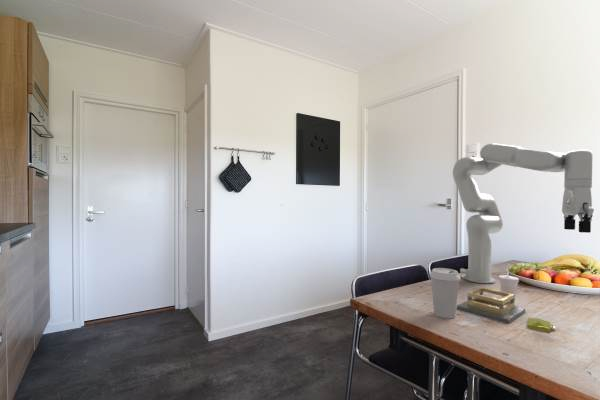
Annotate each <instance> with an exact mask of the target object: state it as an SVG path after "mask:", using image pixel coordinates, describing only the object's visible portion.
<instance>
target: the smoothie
mask: <svg viewBox="0 0 600 400" xmlns="http://www.w3.org/2000/svg"><path fill="white" fill-rule="evenodd" d="M509 268H510V265H506V274H503V275H502V274H500V275H498V280H499V286H500V291H502V292H506V293H511V294H515V298H517V297H516V296H517V290H518V283H519V282H520V278H519V277H517V276H513V275H509V272H510V269H509ZM504 297H505V296H501V299H502V298H504Z"/></svg>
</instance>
